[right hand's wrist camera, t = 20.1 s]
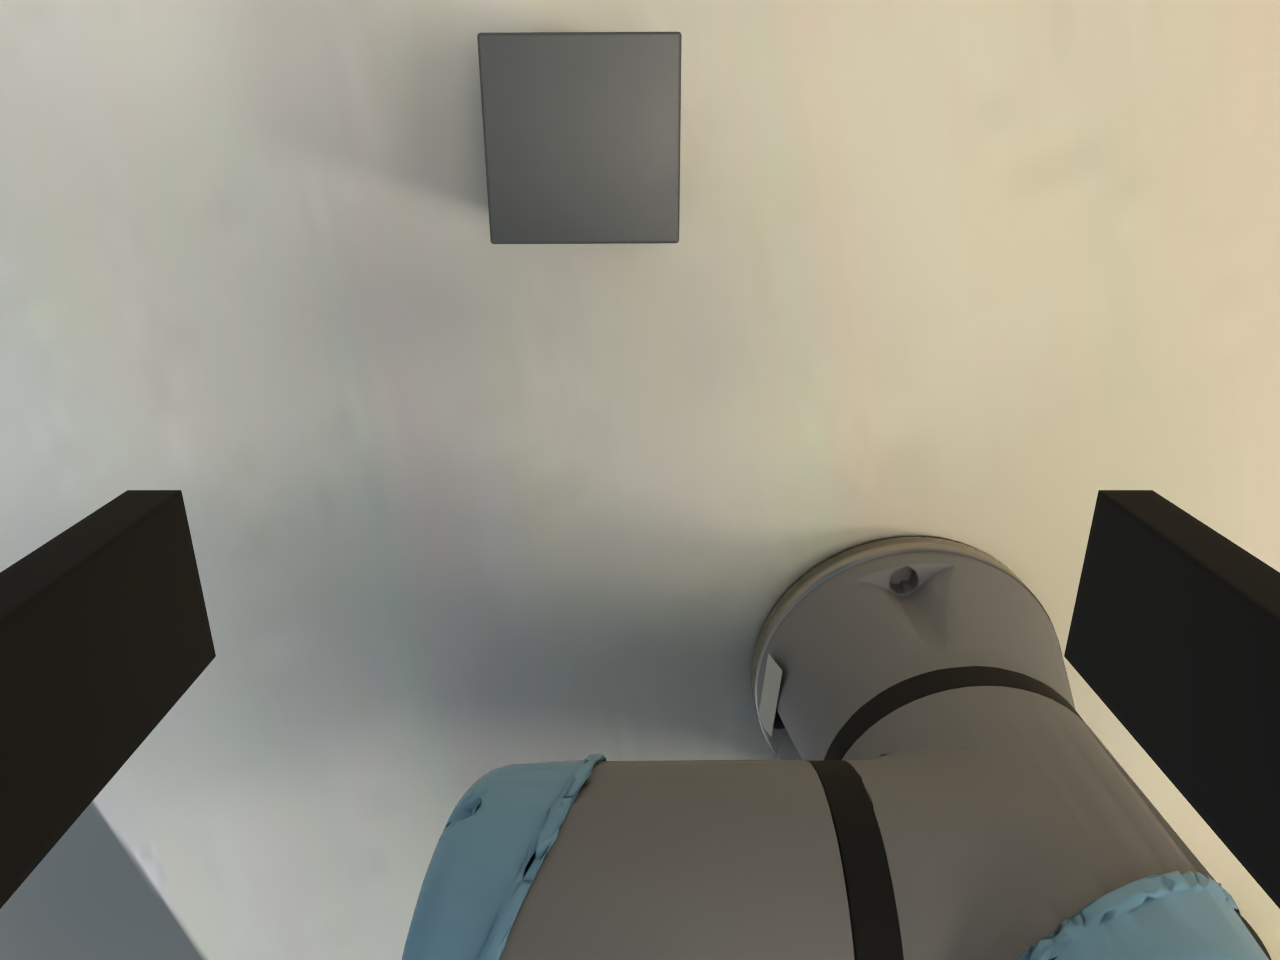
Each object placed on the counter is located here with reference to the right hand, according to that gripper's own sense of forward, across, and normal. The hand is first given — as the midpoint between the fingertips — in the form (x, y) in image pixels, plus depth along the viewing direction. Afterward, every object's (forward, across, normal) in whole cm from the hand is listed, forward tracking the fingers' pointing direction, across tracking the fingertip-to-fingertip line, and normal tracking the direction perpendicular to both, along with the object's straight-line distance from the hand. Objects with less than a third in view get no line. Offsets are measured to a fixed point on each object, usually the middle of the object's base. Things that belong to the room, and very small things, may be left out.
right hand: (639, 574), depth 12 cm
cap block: (+27, +2, -6) cm, 27 cm away
